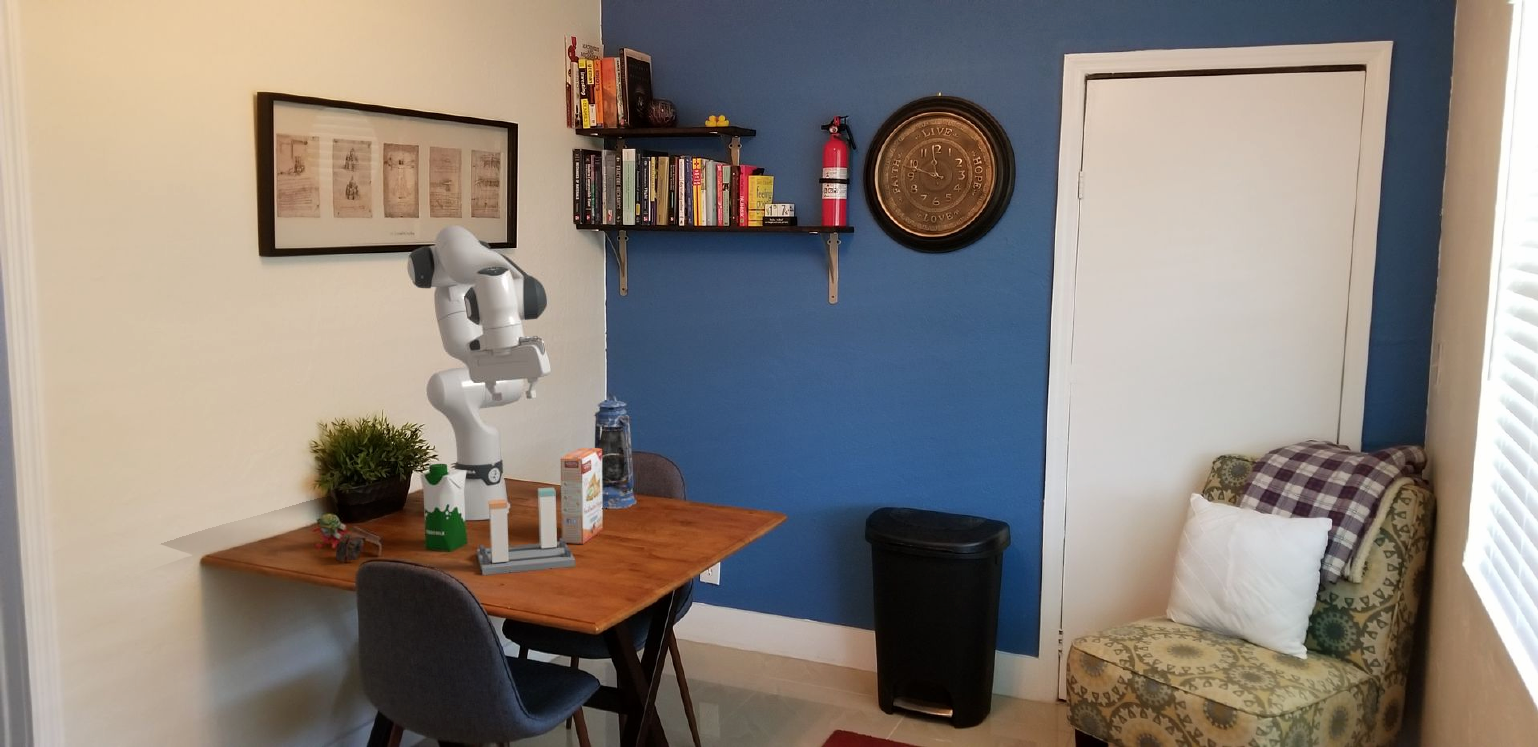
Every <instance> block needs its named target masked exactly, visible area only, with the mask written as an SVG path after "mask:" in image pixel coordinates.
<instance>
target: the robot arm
mask: <svg viewBox="0 0 1538 747" xmlns="http://www.w3.org/2000/svg"><path fill="white" fill-rule="evenodd" d="M406 267H407V268H406V269H407V273H408V277H409V278H410V280H411V281H412V284H413V285H414V286H415V287H416V288H419V289H431V288H435V290H434V293H433V296H434V297H433V298H434V310H435V312H434V313H435V318H436V322H437V325H438V326H437V327H438V329H439V333H440V338H441V342H442V347H443V350H444V351H445V352H446V354H448V355H449V356H450V357H452V358H454V359H457V360H459V361H461V362H462V363H463V364H464V365H465V366H466V367H458V368H449V369H446V370H442V371H441V370H440V371H439V372H435V373H433V374H432V375H431V377H430V378H429V379H428V381H427V385H426V397H427V399H428V402H429V404H430V405H431V406H432V407H433V408H434V409H435V410H437V411H438V412H440V413H441V414H443V415H444V417H446V419H447V420H448V422H449V423H450V425H451V427H452V429H453V432H454V437H455V446H456V459H457V461H456V462H453V463H450V465H451V466H450V469H455V470H467V471H466V478H465V485H464V501H465V521H483V520H490V516H489V500H499V499H506V502H507V515H508V514H509V513H510V509H511V503H509V502H508V494H507V489H506V481H505V478H504V477H503V473H504V464H503V459H502V456H501V452H502V451H501V434H500V431H499V429H498V428H497V427H496V426H495V425H493V424H492V423H490V422H487V421H484V420H483V419H481V417H480V409H487V408H496V407H504V406H506V405H510V404H512V403H515V402H518V401H519V400H520V399H521V398H522V395H523V393H524V392H525V397H526V398H527V399H529V400H530V399H535V398H537V392H536V389H537V387H538V384H539V378H544V377H547V376H549V375H550V373H551V369H552V368H551V365H550V360H549V357H548V352H547V351H546V345H545V341H544V340H543V339H542V338H541V337H539V336H538V335H532V336H525V334H524V329H523V321H526V320H527V321H529V320H538V319H539V317H540V316H541V315H542V314H543V313H544V311H545V310H546V309H547V307H548V306H547V305H548V298H547V293H546V289H545V287H544V285H543V283H542V282H541V281H539V280H538V279H537V278H535V277H534V276H532V275H529V274H527V272H525V271H524V270H523V269H522V268H521V267H520V266H519V265H517V263H516V262H514V261H513V260H512V259H510V258H509V257H507V256H506V255H504V254H503V253H500V252H497V251H494V250H492V248H491V245H489V243H487V241H484V240H478V238H476V236H475V235H474V234H473V233H472V232H471V231H469V230H468V229H466V228H465V227H463V226H461V225H457V224H455V225H447V226H445V227H444V228H442V229H440V231H439V232H438V233H437V234H436V237H435V239H434V245H430V246H426V245H424V246H421V247H419V248H417V249H414V250H413V251H412V252H411V253H409V255H408V260H407V266H406ZM525 379H526V380H527V384H529V386H528V390H525ZM524 390H525V391H524Z"/></svg>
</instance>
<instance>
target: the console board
mask: <svg viewBox="0 0 1538 747" xmlns="http://www.w3.org/2000/svg"><path fill="white" fill-rule="evenodd" d="M558 539H559V540H558V541H557V547H551V548H541V546H540V542H539V543H530V544H518V545H508V554H509V561H506V562H496V563H492V560H491V547H487V548H486V546H485V544H480V545H479V548H476V556H477V559H478V563H479V566H480V570H482V571H481V574H482V576H486V575H487V576H488V575H499V574H510V573H509V572H511V573H520V572H529V571H530V572H531V571H539V570H550V568H552V569H561V568H570V567H572V568H573V567H576V559H575V557H574V555H573V554H572V550H571V548H570V546H568V545H567V543H566V541H565V539H564V538H562V537H560V538H558Z"/></svg>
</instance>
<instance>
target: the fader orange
mask: <svg viewBox="0 0 1538 747" xmlns="http://www.w3.org/2000/svg"><path fill="white" fill-rule="evenodd" d="M507 502H508V501H507ZM507 502H506V499H499V500H489V516H490V519H489V536H490V537H489V540H490V541H489V542H490V548H491V560H492V563H496V562H506V561H509V554H508V546H509V532H508V531H509V530H508V528H509V527H508V514H507Z"/></svg>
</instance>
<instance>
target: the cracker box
mask: <svg viewBox="0 0 1538 747" xmlns="http://www.w3.org/2000/svg"><path fill="white" fill-rule="evenodd" d="M602 478H603V477H602V449H599V448H595V447H579V449H577V450H575V451H572V452H570V453H567V455H565V456H563V457H560V500H561V502H560V503H561V504H560V509H561V510H560V514H561V522H560V523H561V538H564V539H565V541H566V544H572V545H584V544H586V543H587V542H588V541H590V540H591V539H592V538H594V537H595V536H596V535H597V534H599V533H600V532H603V528H604V527H603V524H604V523H603V517H604V516H603V515H604V514H603V509H602Z"/></svg>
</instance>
